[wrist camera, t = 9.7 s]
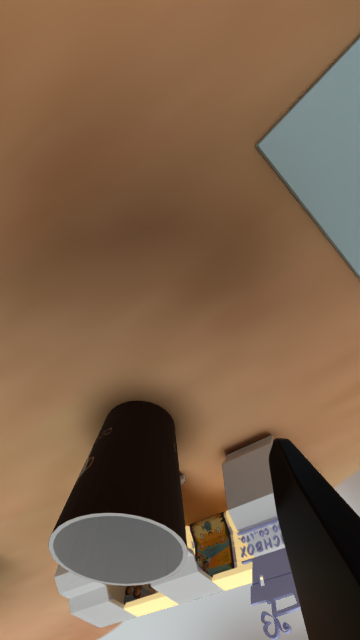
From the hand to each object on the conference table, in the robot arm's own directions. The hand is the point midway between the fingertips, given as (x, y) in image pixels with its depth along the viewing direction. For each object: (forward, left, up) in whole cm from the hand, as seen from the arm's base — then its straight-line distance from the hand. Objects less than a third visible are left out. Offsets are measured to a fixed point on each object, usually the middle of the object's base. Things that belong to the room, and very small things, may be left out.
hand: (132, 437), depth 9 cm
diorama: (+19, -17, -14) cm, 29 cm away
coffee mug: (+8, -13, -13) cm, 20 cm away
